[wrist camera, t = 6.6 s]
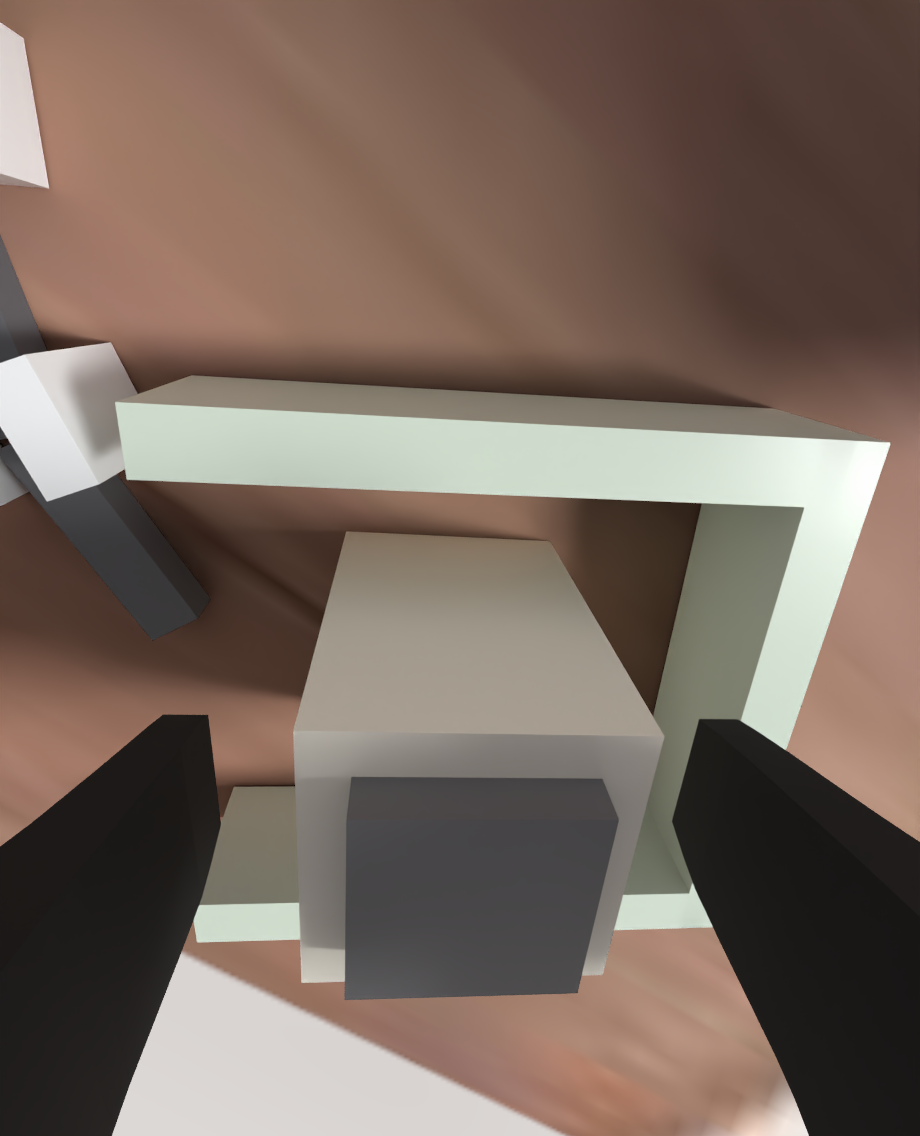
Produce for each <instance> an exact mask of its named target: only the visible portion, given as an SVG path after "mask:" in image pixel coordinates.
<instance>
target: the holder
mask: <svg viewBox="0 0 920 1136" xmlns="http://www.w3.org/2000/svg"><path fill="white" fill-rule="evenodd" d="M115 406H116V413H117V419H118V426H119V432H120V439H121V445H122V452H123V459H124V465H125V472H126V478H127V480H147V481H172V482H196V483H221V484H245V485H270V486H294V487H319V488H343V489H368V490H392V491H417V492H441V493H466V494H490V495H515V496H539V497H564V498H588V499H613V500H637V501H662V502H686V503H702V505H701V509H700V514H699V518H698V523H697V527H696V531H695V536H694V540H693V544H692V549H691V553H690V557H689V562H688V566H687V571H686V575H685V579H684V584H683V588H682V592H681V597H680V601H679V605H678V610H677V614H676V619H675V623H674V627H673V632H672V636H671V640H670V645H669V649H668V653H667V658H666V662H665V666H664V671H663V675H662V680H661V684H660V688H659V693H658V697H657V701H656V706H655V710H654V714H653V718H654V719H655V721H656V723H657V724H658V726H659V728H660V729H661V731H662V733H663V735H664V736H665V737H664V741H663V744H662V748H661V752H660V756H659V760H658V764H657V767H656V771H655V775H654V779H653V783H652V787H651V790H650V794H649V798H648V802H647V806H646V810H645V813H644V817H643V821H642V825H641V829H640V833H639V837H638V840H637V844H636V848H635V852H634V856H633V860H632V863H631V867H630V871H629V875H628V879H627V883H626V886H625V890H624V894H623V898H622V902H621V906H620V909H619V913H618V917H617V921H616V925H615V929H614V930H634V929H668V928H702V927H713V926H712V924H711V922H710V920H709V918H708V916H707V914H706V911H705V909H704V907H703V905H702V903H701V901H700V899H699V896H698V894H697V892H696V890H695V888H694V885H693V882H692V879H691V877H690V874H689V871H688V868H687V866H686V863H685V860H684V857H683V854H682V851H681V848H680V845H679V842H678V839H677V836H676V833H675V829H674V826H673V823H672V819H673V815H674V811H675V807H676V804H677V800H678V796H679V792H680V789H681V785H682V781H683V777H684V774H685V770H686V766H687V763H688V759H689V755H690V751H691V748H692V744H693V740H694V736H695V733H696V729H697V725H698V721H699V719H738V720H740V721H742V722H743V723H745V724H747V725H748V726H750V727H751V728H753V729H755V730H756V731H758V732H759V733H761V734H762V735H764V736H765V737H767V738H768V739H770V740H771V741H773V742H774V743H776V744H777V745H779V746H780V747H782V748H783V749H785V750H786V748H787V745H788V742H789V739H790V736H791V733H792V731H793V728H794V725H795V722H796V719H797V716H798V713H799V710H800V707H801V704H802V701H803V698H804V695H805V693H806V690H807V687H808V684H809V681H810V678H811V675H812V672H813V669H814V666H815V663H816V660H817V657H818V654H819V652H820V649H821V646H822V643H823V640H824V637H825V634H826V631H827V628H828V625H829V622H830V619H831V616H832V613H833V611H834V608H835V605H836V602H837V599H838V596H839V593H840V590H841V587H842V584H843V581H844V578H845V575H846V572H847V570H848V567H849V564H850V561H851V558H852V555H853V552H854V549H855V546H856V543H857V540H858V537H859V534H860V531H861V529H862V526H863V523H864V520H865V517H866V514H867V511H868V508H869V505H870V502H871V499H872V496H873V493H874V491H875V488H876V485H877V482H878V479H879V476H880V473H881V470H882V467H883V464H884V461H885V458H886V455H887V452H888V450H889V447H890V444H891V443H890V442H887V441H883V440H880V439H877V438H873V437H870V436H866V435H863V434H860V433H856V432H853V431H849V430H846V429H843V428H839V427H836V426H832V425H829V424H826V423H822V422H819V421H815V420H812V419H809V418H805V417H802V416H798V415H795V414H792V413H788V412H785V411H781V410H778V409H772V408H754V407H737V406H719V405H702V404H684V403H667V402H649V401H632V400H614V399H597V398H579V397H562V396H544V395H527V394H509V393H492V392H474V391H457V390H439V389H422V388H404V387H387V386H369V385H352V384H334V383H317V382H299V381H282V380H264V379H247V378H229V377H212V376H194V375H191V376H188V377H185V378H183V379H180V380H177V381H174V382H171V383H168V384H165V385H162V386H160V387H157V388H154V389H151V390H148V391H145V392H142V393H139V394H137V395H134V396H131V397H128V398H125V399H122V400H119V401H116V402H115ZM194 925H195V932H196V938H197V942H227V941H261V940H295V939H300V919H299V889H298V858H297V828H296V797H295V786H286V787H234V788H233V791H232V793H231V796H230V799H229V802H228V805H227V807H226V810H225V813H224V816H223V819H222V821H221V827H220V831H219V835H218V839H217V843H216V847H215V851H214V855H213V859H212V863H211V866H210V870H209V874H208V877H207V881H206V885H205V888H204V892H203V896H202V899H201V901H200V904H199V907H198V910H197V912H196V915H195V918H194Z"/></svg>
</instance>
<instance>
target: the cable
mask: <svg viewBox="0 0 920 1136" xmlns="http://www.w3.org/2000/svg"><path fill="white" fill-rule="evenodd" d="M46 351H47V349H46V347H45V344H44V342H43V339H42V337H41V334H40V332H39V330H38V327H37V325H36V322H35V320H34V317H33V315H32V312H31V310H30V307H29V305H28V302H27V300H26V297H25V295H24V293H23V290H22V288H21V285H20V283H19V280H18V278H17V275H16V273H15V270H14V268H13V265H12V263H11V261H10V258H9V256H8V253H7V251H6V248H5V246H4V243H3V241H2V238H1V236H0V363H2V362H5V361H8V360H10V359H13V358H16V357H19V356H22V355H25V354H32V353H39V352H46ZM1 439H7V437H6V435H5V433H4V432H3V430H2V429H1V427H0V440H1ZM0 457H1V458H2V459H3V460H4V461H5V463H6V464H7V465H8V466H9V467H10V469H11V470H12V471H13V472H14V473H15V475H16V476H17V477H18V478H19V480H20V481H21V482H22V483H23V484H24V486H25V487H26V488H27V489H28V490H29V492H30V493H31V494H32V495H33V496H34V498H35V499H36V500H37V501H38V503H39V504H40V505H41V506H42V507H43V509H44V510H45V511H46V512H47V513H48V515H49V516H50V517H51V518H52V519H53V521H54V522H55V523H56V524H57V526H58V527H59V528H60V529H61V530H62V532H63V533H64V534H65V535H66V536H67V538H68V539H69V540H70V541H71V543H72V544H73V545H74V546H75V547H76V549H77V550H78V551H79V552H80V553H81V555H82V556H83V557H84V558H85V559H86V561H87V562H88V563H89V564H90V566H91V567H92V568H93V569H94V570H95V572H96V573H97V574H98V575H99V576H100V578H101V579H102V580H103V581H104V582H105V584H106V585H107V586H108V587H109V589H110V590H111V591H112V592H113V593H114V595H115V596H116V597H117V598H118V599H119V601H120V602H121V603H122V604H123V605H124V607H125V608H126V609H127V610H128V612H129V613H130V614H131V615H132V616H133V618H134V619H135V620H136V621H137V622H138V624H139V625H140V626H141V627H142V629H143V630H144V631H145V632H146V633H147V635H148V636H149V637H150V638H151V639H152V641H153V640H155V639H157V638H159V637H161V636H163V635H165V634H167V633H169V632H171V631H173V630H175V629H177V628H179V627H181V626H183V625H185V624H187V623H189V622H191V621H193V620H195V619H197V618H198V617H199V616H200V614H201V613H202V611H203V610H204V608H205V607H206V605H207V604H208V602H209V601H210V597H209V596H208V595H207V593H206V592H205V591H204V589H203V588H202V587H201V585H200V584H199V583H198V582H197V580H196V579H195V578H194V576H193V575H192V574H191V572H190V571H189V570H188V568H187V567H186V566H185V564H184V563H183V562H182V560H181V559H180V558H179V556H178V555H177V554H176V552H175V551H174V550H173V548H172V547H171V546H170V544H169V543H168V542H167V540H166V539H165V538H164V536H163V535H162V534H161V532H160V531H159V530H158V528H157V527H156V526H155V524H154V523H153V522H152V520H151V519H150V518H149V516H148V515H147V514H146V512H145V511H144V510H143V508H142V507H141V506H140V504H139V503H138V502H137V500H136V499H135V498H134V496H133V495H132V494H131V492H130V491H129V490H128V488H127V487H126V486H125V484H124V483H123V482H122V480H121V479H120V478H119V476H118V475H117V474H116V475H114V476H112V477H111V478H109V479H107V480H106V481H104V482H102V483H101V484H98V485H95V486H92V487H89V488H86V489H83V490H80V491H77V492H74V493H71V494H68V495H66V496H63V497H60V498H57V499H54V500H51V501H48V502H47V501H46V499H45V498H44V496H43V495H42V493H41V491H40V490H39V488H38V487H37V485H36V483H35V482H34V480H33V478H32V477H31V475H30V474H29V472H28V470H27V469H26V467H25V466H24V464H23V462H22V461H21V459H20V458H19V456H18V454H17V453H16V451H15V450H14V448H13V446H12V445H11V443H10V444H9V445H7V446H5V447H3V448H1V449H0Z"/></svg>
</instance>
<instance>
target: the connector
mask: <svg viewBox="0 0 920 1136" xmlns="http://www.w3.org/2000/svg"><path fill="white" fill-rule="evenodd" d="M293 736H294V767H295V797H296V828H297V858H298V889H299V919H300V950H301V981H302V983H312V982H345V1000H362V999H396V998H430V997H464V996H498V995H532V994H566V993H578V988H579V984H580V980H581V976H582V975H603V971H604V967H605V963H606V959H607V955H608V952H609V948H610V944H611V940H612V936H613V932H614V929H615V925H616V921H617V917H618V913H619V909H620V906H621V902H622V898H623V894H624V890H625V886H626V883H627V879H628V875H629V871H630V867H631V863H632V860H633V856H634V852H635V848H636V844H637V840H638V837H639V833H640V829H641V825H642V821H643V817H644V813H645V810H646V806H647V802H648V798H649V794H650V790H651V787H652V783H653V779H654V775H655V771H656V767H657V764H658V760H659V756H660V752H661V748H662V744H663V741H664V737H665V736H664V735H663V733H662V731H661V729H660V728H659V726H658V724H657V723H656V721H655V719H654V718H653V716H652V714H651V712H650V711H649V709H648V707H647V706H646V704H645V702H644V701H643V699H642V697H641V695H640V694H639V692H638V690H637V689H636V687H635V685H634V684H633V682H632V680H631V678H630V677H629V675H628V673H627V672H626V670H625V668H624V667H623V665H622V663H621V661H620V660H619V658H618V656H617V655H616V653H615V651H614V650H613V648H612V646H611V644H610V643H609V641H608V639H607V638H606V636H605V634H604V633H603V631H602V629H601V627H600V626H599V624H598V622H597V621H596V619H595V617H594V616H593V614H592V612H591V610H590V609H589V607H588V605H587V604H586V602H585V600H584V598H583V597H582V595H581V593H580V592H579V590H578V588H577V587H576V585H575V583H574V581H573V580H572V578H571V576H570V575H569V573H568V571H567V570H566V568H565V566H564V564H563V563H562V561H561V559H560V558H559V556H558V554H557V553H556V551H555V549H554V547H553V546H552V544H551V542H550V541H537V540H516V539H495V538H474V537H453V536H432V535H412V534H391V533H370V532H349V531H346V534H345V538H344V542H343V545H342V549H341V553H340V557H339V561H338V564H337V568H336V572H335V576H334V579H333V583H332V587H331V591H330V594H329V598H328V602H327V606H326V610H325V613H324V617H323V621H322V625H321V628H320V632H319V636H318V640H317V644H316V647H315V651H314V655H313V659H312V662H311V666H310V670H309V674H308V677H307V681H306V685H305V689H304V693H303V696H302V700H301V704H300V708H299V711H298V715H297V719H296V723H295V726H294V730H293Z"/></svg>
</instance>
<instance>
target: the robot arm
mask: <svg viewBox="0 0 920 1136" xmlns="http://www.w3.org/2000/svg"><path fill="white" fill-rule="evenodd" d="M672 823H673V826H674V829H675V833H676V836H677V839H678V842H679V845H680V848H681V851H682V854H683V857H684V860H685V863H686V866H687V868H688V871H689V874H690V877H691V879H692V882H693V885H694V888H695V890H696V892H697V894H698V896H699V899H700V901H701V903H702V905H703V907H704V909H705V911H706V914H707V916H708V918H709V920H710V922H711V924H712V926H713V928H714V930H715V932H716V934H717V937H718V939H719V941H720V943H721V945H722V947H723V949H724V951H725V953H726V955H727V957H728V959H729V961H730V963H731V965H732V967H733V970H734V972H735V974H736V976H737V978H738V980H739V982H740V984H741V986H742V988H743V990H744V992H745V994H746V996H747V998H748V1000H749V1002H750V1004H751V1006H752V1008H753V1011H754V1013H755V1015H756V1017H757V1019H758V1021H759V1023H760V1025H761V1027H762V1029H763V1031H764V1033H765V1035H766V1037H767V1039H768V1041H769V1043H770V1045H771V1047H772V1049H773V1052H774V1054H775V1056H776V1058H777V1060H778V1062H779V1065H780V1067H781V1069H782V1071H783V1074H784V1076H785V1078H786V1080H787V1083H788V1085H789V1087H790V1089H791V1092H792V1094H793V1096H794V1098H795V1101H796V1103H797V1106H798V1108H799V1111H800V1114H801V1116H802V1119H803V1121H804V1124H805V1126H806V1129H807V1131H808V1134H809V1136H920V842H919V841H917V840H916V839H914V838H913V837H911V836H910V835H908V834H907V833H905V832H904V831H902V830H901V829H899V828H898V827H896V826H895V825H893V824H892V823H890V822H889V821H887V820H886V819H884V818H883V817H881V816H880V815H878V814H877V813H875V812H874V811H872V810H871V809H870V808H868V807H867V806H865V805H864V804H862V803H861V802H859V801H858V800H856V799H855V798H854V797H852V796H851V795H849V794H848V793H846V792H845V791H843V790H842V789H841V788H839V787H838V786H836V785H835V784H833V783H832V782H830V781H829V780H828V779H826V778H825V777H823V776H822V775H820V774H819V773H818V772H816V771H815V770H813V769H812V768H810V767H809V766H808V765H806V764H805V763H803V762H802V761H800V760H799V759H798V758H796V757H795V756H793V755H792V754H790V753H789V752H787V751H786V750H785V749H783V748H782V747H780V746H779V745H777V744H776V743H774V742H773V741H771V740H770V739H768V738H767V737H765V736H764V735H762V734H761V733H759V732H758V731H756V730H755V729H753V728H751V727H750V726H748V725H747V724H745V723H743V722H742V721H740V720H738V719H699V721H698V725H697V729H696V733H695V736H694V740H693V744H692V748H691V751H690V755H689V759H688V763H687V766H686V770H685V774H684V777H683V781H682V785H681V789H680V792H679V796H678V800H677V804H676V807H675V811H674V815H673V819H672ZM220 827H221V821H220V812H219V804H218V795H217V787H216V778H215V770H214V762H213V753H212V745H211V736H210V728H209V719H208V715H162V716H161V717H160V718H158V719H157V720H156V721H155V722H153V723H152V724H151V725H150V726H148V727H147V728H146V729H145V730H144V731H142V732H141V733H140V734H139V735H138V736H136V737H135V738H134V739H133V740H132V741H130V742H129V743H128V744H127V745H126V746H124V747H123V748H122V749H121V750H120V751H119V752H117V753H116V754H115V755H114V756H113V757H111V758H110V759H109V760H108V761H107V762H105V763H104V764H103V765H102V766H101V767H100V768H98V769H97V770H96V771H95V772H94V773H92V774H91V775H90V776H89V777H88V778H86V779H85V780H84V781H83V782H81V783H80V784H79V785H78V786H76V787H75V788H74V789H73V790H72V791H70V792H69V793H68V794H67V795H65V796H64V797H63V798H62V799H61V800H59V801H58V802H57V803H56V804H54V805H53V806H52V807H51V808H49V809H48V810H47V811H46V812H45V813H43V814H42V815H41V816H40V817H38V818H37V819H36V820H35V821H33V822H32V823H31V824H30V825H28V826H27V827H26V828H24V829H23V830H22V831H20V832H19V833H18V834H16V835H15V836H14V837H12V838H11V839H10V840H8V841H7V842H6V843H4V844H3V845H2V846H0V1136H112V1133H113V1130H114V1127H115V1125H116V1122H117V1119H118V1116H119V1113H120V1110H121V1107H122V1105H123V1102H124V1099H125V1096H126V1093H127V1091H128V1088H129V1085H130V1082H131V1080H132V1077H133V1075H134V1072H135V1070H136V1067H137V1064H138V1062H139V1059H140V1057H141V1054H142V1052H143V1049H144V1046H145V1044H146V1041H147V1039H148V1036H149V1034H150V1031H151V1029H152V1026H153V1023H154V1021H155V1018H156V1016H157V1013H158V1011H159V1008H160V1005H161V1003H162V1000H163V998H164V995H165V993H166V990H167V987H168V985H169V982H170V980H171V977H172V974H173V972H174V969H175V967H176V964H177V962H178V959H179V957H180V954H181V951H182V949H183V946H184V944H185V941H186V938H187V936H188V933H189V931H190V928H191V925H192V923H193V920H194V918H195V915H196V912H197V910H198V907H199V904H200V901H201V899H202V896H203V892H204V888H205V885H206V881H207V877H208V874H209V870H210V866H211V863H212V859H213V855H214V851H215V847H216V843H217V839H218V835H219V831H220Z"/></svg>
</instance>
